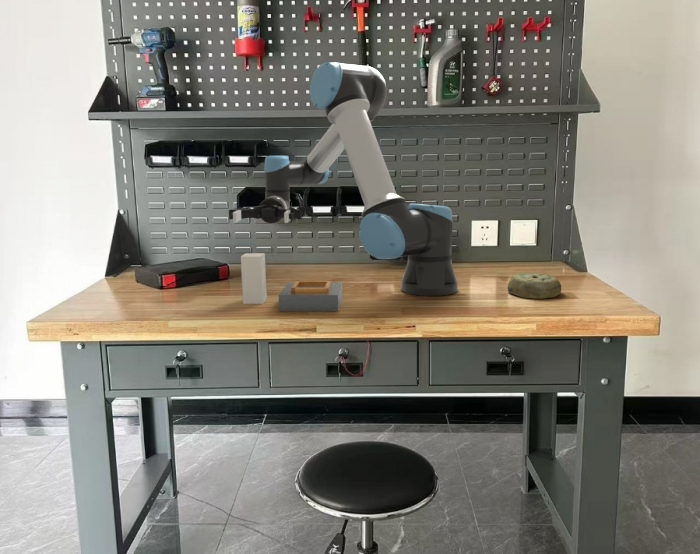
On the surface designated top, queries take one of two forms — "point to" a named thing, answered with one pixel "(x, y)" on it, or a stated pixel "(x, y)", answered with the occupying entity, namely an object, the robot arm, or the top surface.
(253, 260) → the column
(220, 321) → the top surface
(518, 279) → the weight
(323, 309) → the jig plate
